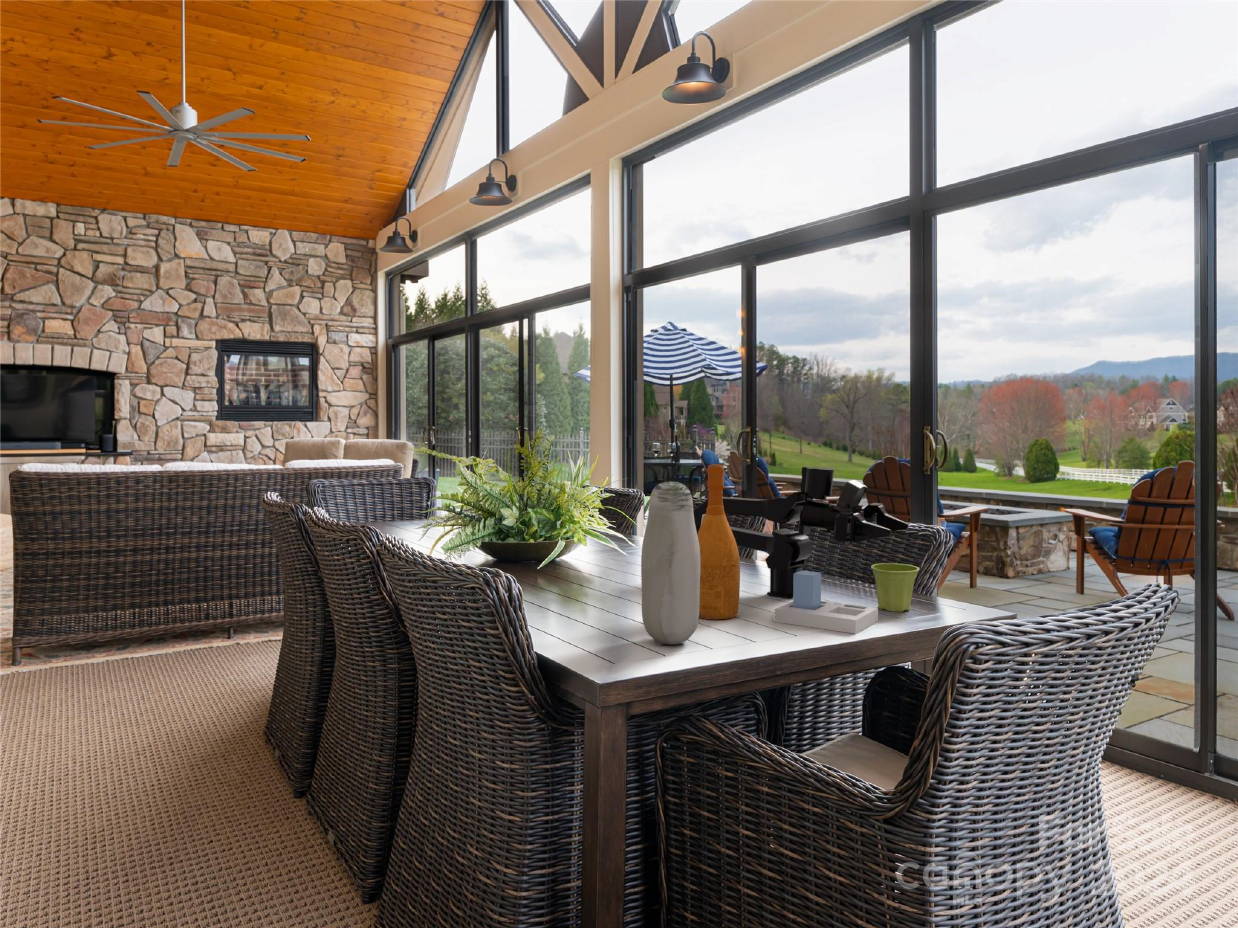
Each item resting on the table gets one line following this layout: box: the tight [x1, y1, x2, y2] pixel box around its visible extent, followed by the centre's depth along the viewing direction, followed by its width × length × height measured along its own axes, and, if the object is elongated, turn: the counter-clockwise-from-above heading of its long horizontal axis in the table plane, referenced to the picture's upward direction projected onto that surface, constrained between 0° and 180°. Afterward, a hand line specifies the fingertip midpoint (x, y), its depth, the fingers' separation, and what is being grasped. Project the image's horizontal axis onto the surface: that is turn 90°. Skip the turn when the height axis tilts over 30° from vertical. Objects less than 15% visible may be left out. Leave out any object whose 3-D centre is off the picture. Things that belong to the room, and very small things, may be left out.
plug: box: [792, 570, 822, 610], centre depth 168 cm, size 4×5×9 cm
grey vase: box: [640, 481, 700, 646], centre depth 149 cm, size 10×10×28 cm
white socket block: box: [774, 600, 879, 634], centre depth 166 cm, size 16×12×3 cm
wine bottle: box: [697, 463, 741, 620], centre depth 170 cm, size 10×10×30 cm
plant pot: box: [870, 562, 920, 613], centre depth 177 cm, size 9×9×9 cm
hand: (899, 529), depth 174 cm, fingers open, 9 cm apart
